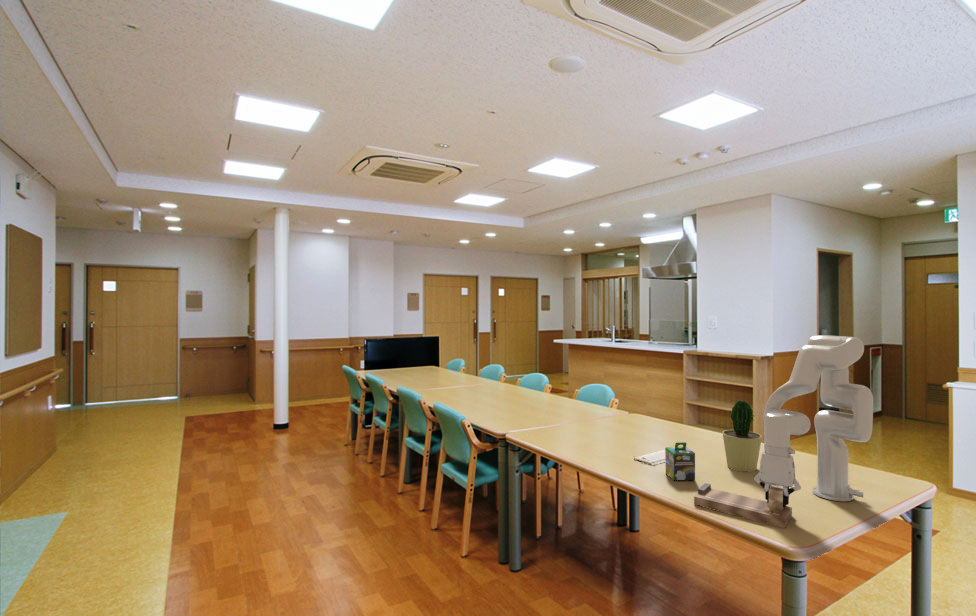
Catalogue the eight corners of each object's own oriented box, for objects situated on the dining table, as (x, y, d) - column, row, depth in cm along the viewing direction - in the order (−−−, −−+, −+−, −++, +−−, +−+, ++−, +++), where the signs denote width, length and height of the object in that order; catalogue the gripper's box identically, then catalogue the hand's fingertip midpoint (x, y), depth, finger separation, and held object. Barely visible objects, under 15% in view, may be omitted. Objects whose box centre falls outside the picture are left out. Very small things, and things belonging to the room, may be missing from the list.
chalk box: (686, 473, 206) (686, 438, 206) (696, 481, 197) (696, 444, 197) (664, 473, 206) (664, 438, 206) (673, 481, 197) (673, 445, 197)
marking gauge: (785, 510, 166) (785, 487, 167) (778, 521, 157) (778, 496, 158) (772, 507, 169) (772, 484, 169) (764, 518, 160) (764, 493, 160)
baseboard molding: (696, 455, 233) (674, 449, 243) (696, 449, 233) (674, 443, 243) (656, 467, 215) (633, 461, 225) (655, 461, 215) (633, 454, 225)
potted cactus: (717, 467, 213) (717, 399, 213) (728, 459, 225) (728, 394, 225) (756, 476, 203) (756, 404, 203) (765, 467, 214) (766, 399, 214)
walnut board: (791, 516, 164) (791, 502, 164) (784, 528, 155) (784, 514, 155) (705, 495, 183) (705, 483, 183) (694, 504, 174) (694, 492, 174)
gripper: (808, 452, 162) (807, 507, 163) (752, 443, 174) (752, 494, 174) (804, 458, 157) (804, 514, 157) (746, 448, 168) (746, 501, 168)
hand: (776, 503), depth 165 cm, fingers closed on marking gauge, 3 cm apart
